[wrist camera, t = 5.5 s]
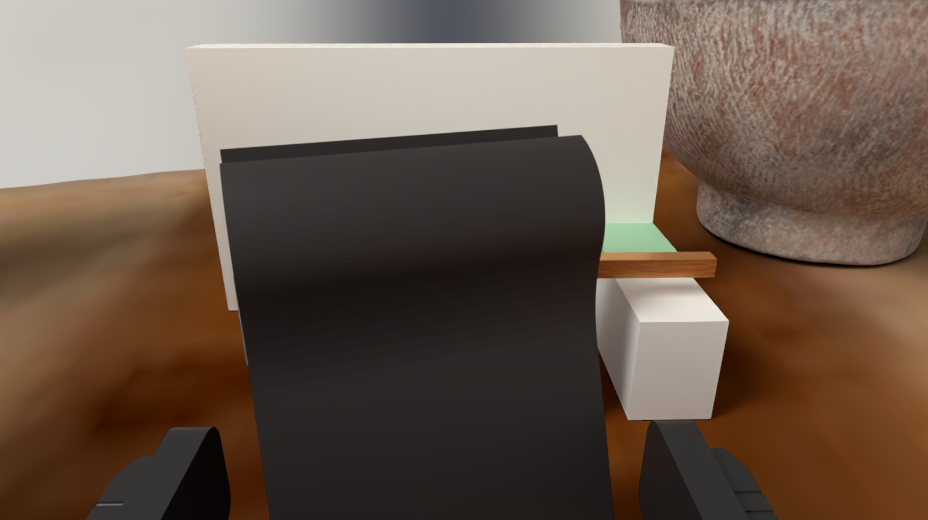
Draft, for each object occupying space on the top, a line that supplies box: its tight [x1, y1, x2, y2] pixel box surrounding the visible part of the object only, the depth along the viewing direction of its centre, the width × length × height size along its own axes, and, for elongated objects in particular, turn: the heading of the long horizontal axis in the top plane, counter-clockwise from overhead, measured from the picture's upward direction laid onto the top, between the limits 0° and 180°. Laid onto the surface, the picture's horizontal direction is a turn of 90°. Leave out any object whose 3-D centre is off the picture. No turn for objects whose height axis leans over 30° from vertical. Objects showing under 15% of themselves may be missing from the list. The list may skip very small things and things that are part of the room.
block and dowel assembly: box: [597, 252, 717, 279], centre depth 22 cm, size 15×3×8 cm, turn 91°
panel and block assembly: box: [185, 43, 729, 420], centre depth 25 cm, size 20×11×12 cm, turn 91°
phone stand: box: [219, 125, 614, 520], centre depth 13 cm, size 9×6×12 cm, turn 19°
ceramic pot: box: [620, 0, 928, 265], centre depth 36 cm, size 25×25×24 cm
